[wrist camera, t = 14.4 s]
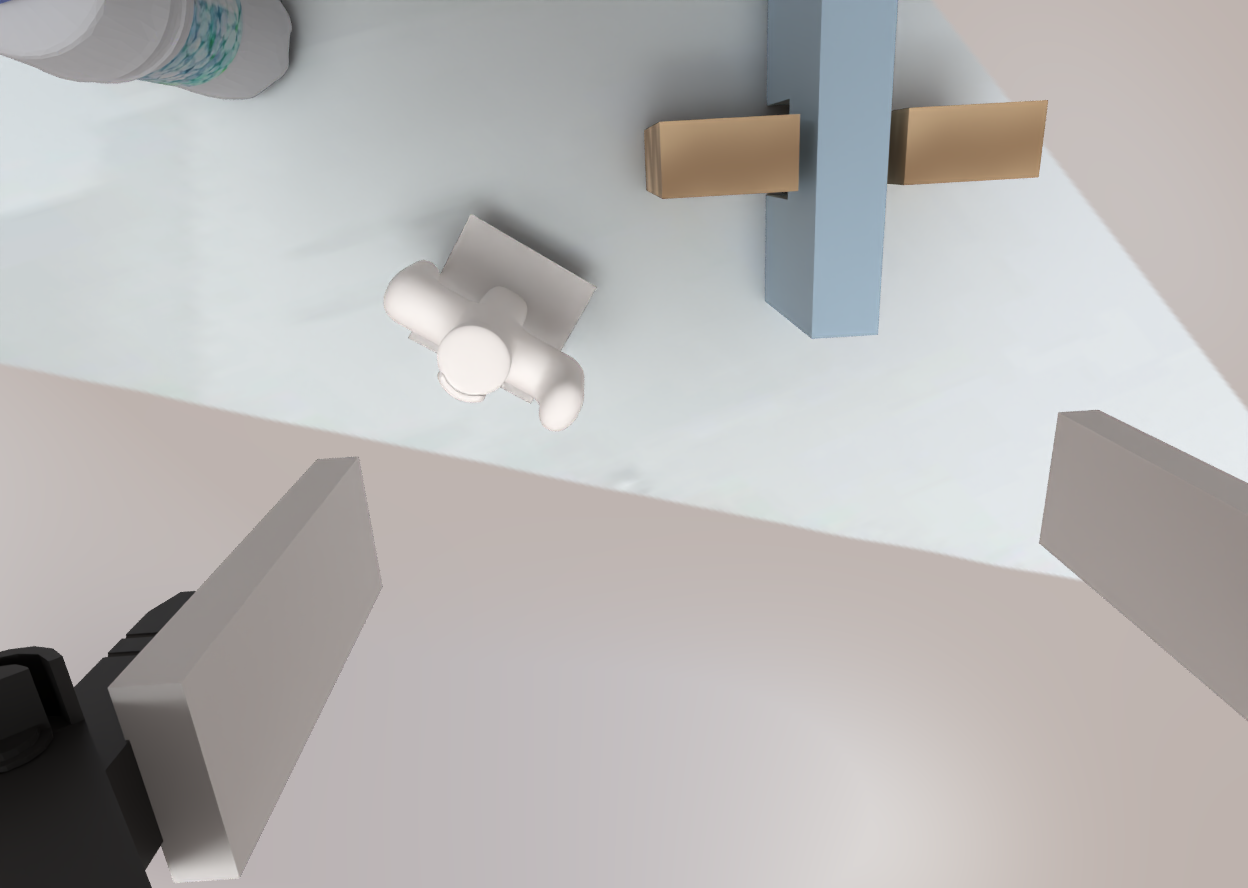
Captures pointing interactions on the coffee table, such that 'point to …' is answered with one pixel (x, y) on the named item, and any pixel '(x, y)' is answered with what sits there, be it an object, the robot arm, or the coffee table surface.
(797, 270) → the blue bridge block
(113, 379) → the coffee table surface
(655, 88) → the coffee table surface
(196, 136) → the coffee table surface
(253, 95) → the bottle
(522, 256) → the figurine
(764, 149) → the wooden block stack
